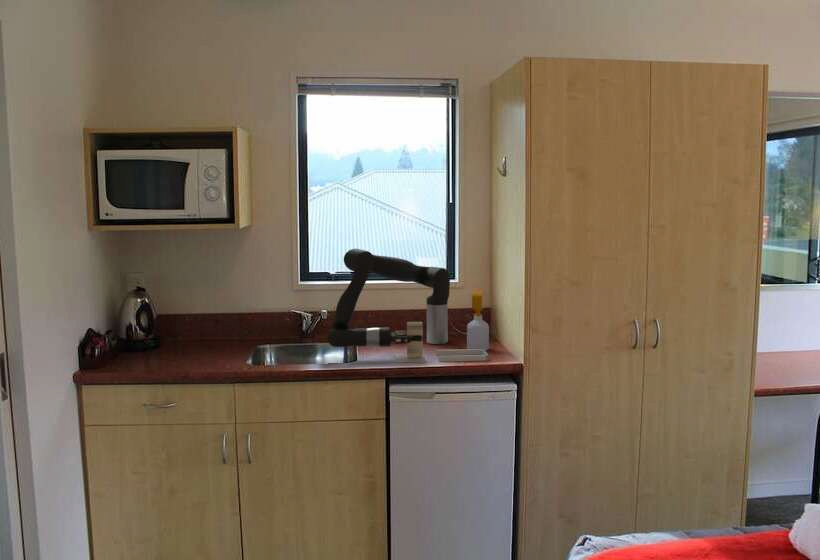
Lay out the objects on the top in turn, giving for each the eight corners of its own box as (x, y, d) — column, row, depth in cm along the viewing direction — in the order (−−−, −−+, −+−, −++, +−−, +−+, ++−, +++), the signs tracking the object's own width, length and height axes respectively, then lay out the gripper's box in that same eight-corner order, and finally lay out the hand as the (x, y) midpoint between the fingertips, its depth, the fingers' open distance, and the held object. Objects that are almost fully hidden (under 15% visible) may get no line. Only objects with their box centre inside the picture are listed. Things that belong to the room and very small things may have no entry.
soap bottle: (490, 347, 272) (490, 290, 269) (486, 352, 264) (487, 293, 261) (469, 346, 275) (469, 289, 272) (465, 351, 266) (465, 292, 263)
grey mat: (394, 355, 260) (394, 354, 260) (424, 354, 261) (424, 353, 260) (395, 362, 248) (394, 361, 248) (425, 361, 249) (425, 361, 249)
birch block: (406, 353, 257) (406, 321, 255) (421, 353, 257) (422, 321, 255) (407, 356, 252) (407, 324, 250) (422, 356, 252) (422, 324, 250)
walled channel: (436, 354, 260) (436, 349, 260) (484, 353, 261) (484, 348, 261) (438, 361, 249) (438, 356, 249) (488, 360, 250) (488, 355, 249)
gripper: (378, 331, 245) (422, 330, 246) (378, 324, 260) (420, 323, 260) (378, 350, 246) (422, 350, 247) (378, 342, 260) (420, 342, 261)
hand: (421, 336), depth 253 cm, fingers closed on birch block, 5 cm apart
